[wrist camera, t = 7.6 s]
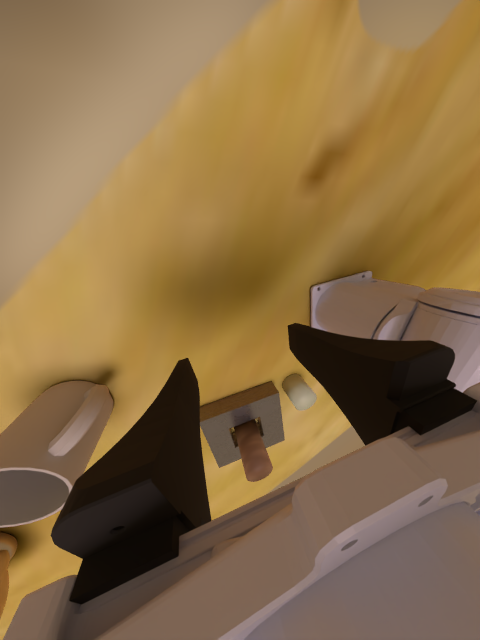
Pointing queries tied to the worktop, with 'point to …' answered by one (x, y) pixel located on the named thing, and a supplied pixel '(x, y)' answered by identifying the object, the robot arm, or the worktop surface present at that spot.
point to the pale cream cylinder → (299, 392)
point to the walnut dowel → (253, 451)
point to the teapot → (5, 565)
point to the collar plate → (241, 420)
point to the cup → (49, 449)
